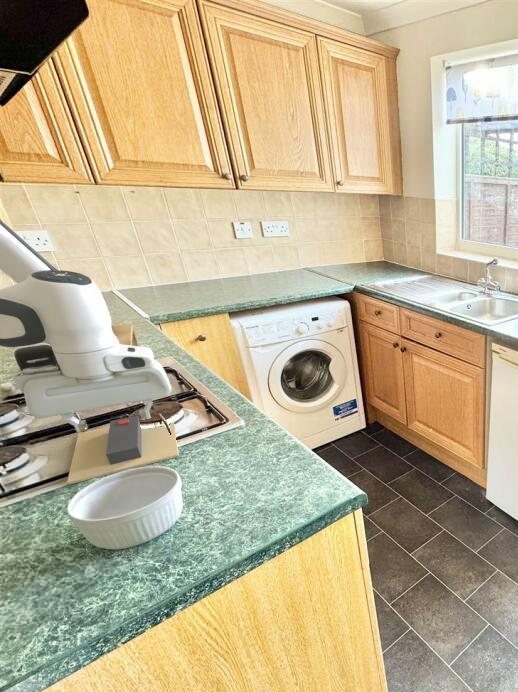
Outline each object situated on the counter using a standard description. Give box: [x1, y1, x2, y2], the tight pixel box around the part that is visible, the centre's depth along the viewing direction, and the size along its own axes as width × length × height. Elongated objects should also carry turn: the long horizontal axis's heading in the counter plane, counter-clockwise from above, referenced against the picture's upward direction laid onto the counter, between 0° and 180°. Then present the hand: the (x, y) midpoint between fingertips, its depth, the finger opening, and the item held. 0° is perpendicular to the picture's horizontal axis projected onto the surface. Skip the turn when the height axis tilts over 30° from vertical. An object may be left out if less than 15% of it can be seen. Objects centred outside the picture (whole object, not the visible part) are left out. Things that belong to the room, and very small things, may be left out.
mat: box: [66, 421, 180, 485], centre depth 86 cm, size 16×20×1 cm
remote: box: [106, 415, 141, 465], centre depth 86 cm, size 5×15×3 cm, turn 38°
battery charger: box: [13, 343, 58, 374], centre depth 103 cm, size 7×4×11 cm, turn 137°
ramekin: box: [66, 465, 184, 550], centre depth 66 cm, size 13×13×7 cm
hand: (115, 424), depth 84 cm, fingers open, 8 cm apart
